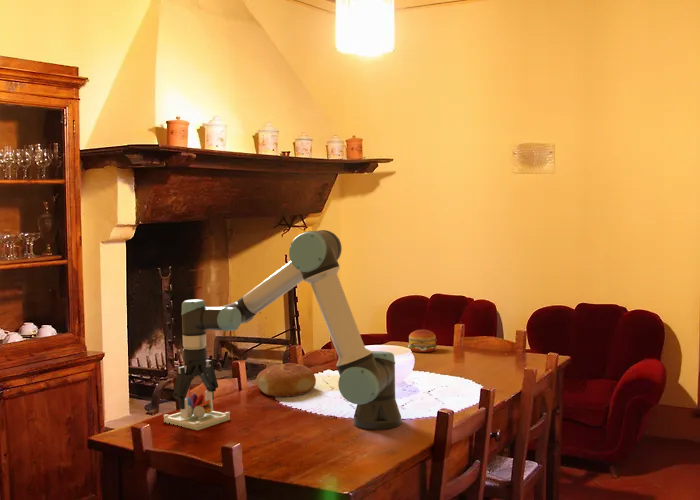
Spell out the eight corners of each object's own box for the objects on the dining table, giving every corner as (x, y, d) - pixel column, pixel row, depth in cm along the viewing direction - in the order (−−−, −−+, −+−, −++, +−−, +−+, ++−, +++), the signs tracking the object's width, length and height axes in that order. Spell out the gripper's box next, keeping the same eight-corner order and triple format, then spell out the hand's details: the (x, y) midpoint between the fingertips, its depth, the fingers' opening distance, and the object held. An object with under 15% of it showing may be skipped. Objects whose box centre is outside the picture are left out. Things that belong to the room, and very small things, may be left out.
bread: (243, 396, 286) (242, 369, 285) (273, 382, 308) (272, 357, 307) (299, 401, 277) (298, 373, 277) (326, 386, 299) (325, 360, 298)
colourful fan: (205, 419, 249) (204, 397, 249) (177, 418, 251) (176, 396, 251) (215, 412, 258) (214, 390, 257) (188, 411, 260) (187, 390, 259)
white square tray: (231, 419, 255) (230, 412, 255) (197, 430, 244) (197, 423, 244) (196, 412, 265) (196, 405, 265) (162, 422, 254) (162, 415, 253)
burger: (406, 353, 358) (406, 332, 357) (409, 347, 371) (409, 327, 371) (436, 354, 356) (435, 332, 355) (437, 348, 369) (437, 327, 369)
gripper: (212, 340, 264) (214, 405, 266) (159, 352, 246) (162, 421, 247) (228, 342, 260) (230, 408, 261) (175, 354, 242) (178, 424, 243)
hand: (197, 414), depth 254 cm, fingers closed on colourful fan, 10 cm apart
